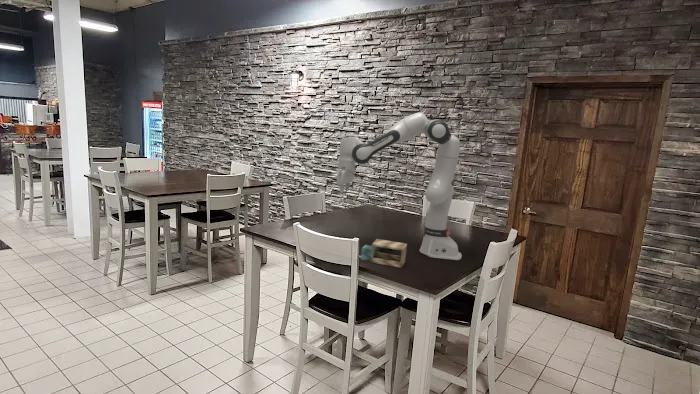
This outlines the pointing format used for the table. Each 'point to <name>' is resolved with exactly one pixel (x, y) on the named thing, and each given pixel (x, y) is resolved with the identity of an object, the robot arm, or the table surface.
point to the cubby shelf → (389, 256)
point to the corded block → (367, 252)
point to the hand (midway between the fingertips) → (344, 191)
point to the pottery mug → (386, 250)
